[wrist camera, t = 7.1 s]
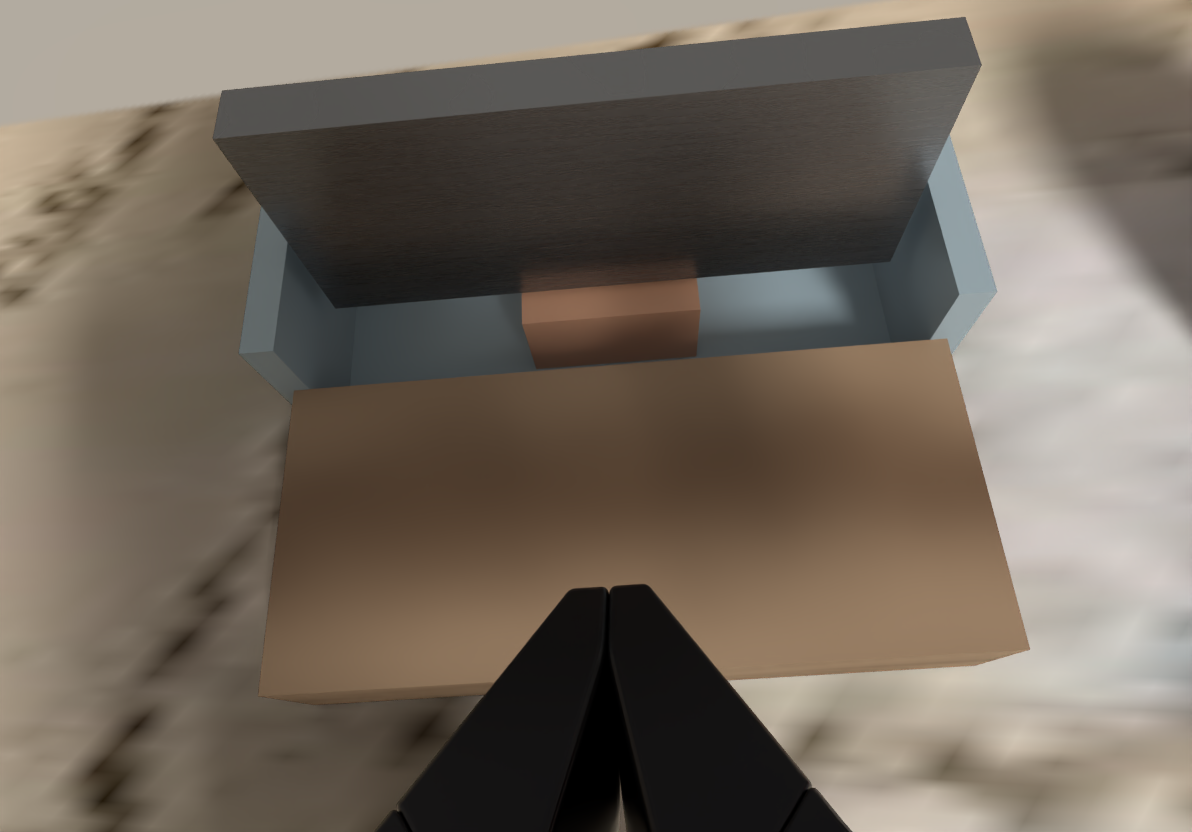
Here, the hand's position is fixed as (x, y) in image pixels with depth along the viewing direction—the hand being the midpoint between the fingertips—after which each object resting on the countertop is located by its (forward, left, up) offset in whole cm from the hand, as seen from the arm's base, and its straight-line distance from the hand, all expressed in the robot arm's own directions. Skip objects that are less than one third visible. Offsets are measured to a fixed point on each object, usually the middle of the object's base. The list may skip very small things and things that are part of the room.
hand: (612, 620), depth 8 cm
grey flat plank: (+4, +9, -8) cm, 13 cm away
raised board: (+2, +3, -11) cm, 12 cm away
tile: (+5, +10, -11) cm, 16 cm away
